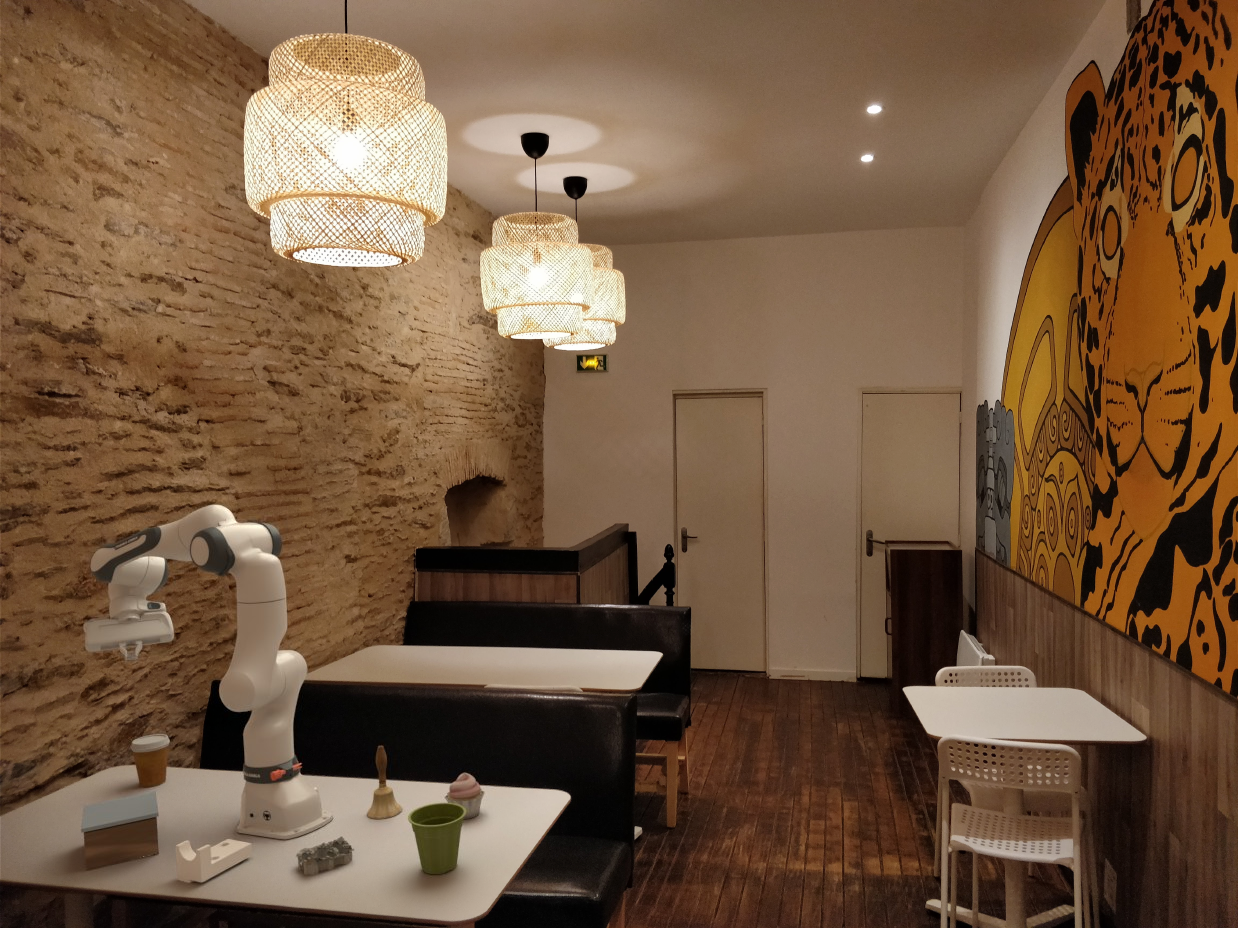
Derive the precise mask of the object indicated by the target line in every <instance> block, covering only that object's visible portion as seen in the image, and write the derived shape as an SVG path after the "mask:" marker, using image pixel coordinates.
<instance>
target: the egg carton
mask: <svg viewBox="0 0 1238 928" xmlns="http://www.w3.org/2000/svg"><path fill="white" fill-rule="evenodd" d="M353 852H355V848H352V845H351V844H350V843H349V842H348V841H347V840H345V838H344V837H343V836H340V837H338V838H337V839H334V840H333V841H328V842H327V843H326V842H322V843H321V844H319V845H315V846H313V847H306V848H301V849H300V851H298V852H297V853H296V855H295V857H297V867H298V870H300V871H302V870H303V874H304V876H308V875H309V876H310V875H312V876H315V875H318V874H319V872H320V871H323V870H328V871H331V870H333V869H334V868H335V867H336V866H338V865H347V864H350V862H351V861H352V860H353Z"/></svg>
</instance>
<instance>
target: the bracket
mask: <svg viewBox="0 0 1238 928" xmlns="http://www.w3.org/2000/svg"><path fill="white" fill-rule="evenodd" d="M252 846H253V845H252V843H251V842H245V841H241V840H236V839H230V838H227V839H225V840H223V841H221V842H219V843H217V844H215V845H213V846H211V844H205V845H203V846H201V847H200V848H197V849H196V852H195V851H194V849H192V847H191V841H190V840H186V839H185V840H184V841H182V842H180V843H178V844H176V845H175V857H176V870H177V871H176V872H177V881H179V880H180V881H179V882H183V881H184V883H189V884H191V883H192V882H197V883H203V882H206V881H208V880H209V879H211V878H213V877H215V876H217V875H218V874H220V873H222V872H224V871H226V870H228V869H230V868H232V867H233V866H235V865H237V864H239V863H240V862H241V863H242V861H245V860H246V859H248V858H250V857H252V856H253V847H252Z"/></svg>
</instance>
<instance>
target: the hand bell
mask: <svg viewBox="0 0 1238 928" xmlns="http://www.w3.org/2000/svg"><path fill="white" fill-rule="evenodd" d="M387 758H388V757H387V754H386V750H385V748H384V745H378V746H377V750H376V754H375V764H376V765H375V766H376V769H377V771H378V788H376V789H374V790H373V795H372V796H373V797H372V798H373V799H372V803H371V806H370V808H369V809H368V811H367V812H366V816H367V817H368V818H369V819H373V820H384V819H388V818H392V817H395V816H397V815H399V814H400V813H401V812H402V811H403V808H402V805H400V804H399V803H398V802H397V800H396V799H395V795H394V789H393V788H392V787H390V786H387V776H386V775H387V774H386V771H387V765H388V760H387Z"/></svg>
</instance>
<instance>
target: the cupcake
mask: <svg viewBox="0 0 1238 928" xmlns="http://www.w3.org/2000/svg"><path fill="white" fill-rule="evenodd" d="M448 789H449V792H446V795H445V796H444V799H445V801H446V803H455V804H459V805H461V806H463V807H464V808H465V809H466V815H465V816H464V817H463V820H467V819H471V818H474V817H477V816H478V815H479V813H480V810H481V805H482V799H483V798H484V795H485V793H486V792H485V791H484V790H483V789H482V788H481V785H480V784H479V782H478V781H476V778H475V777H474V776H473V775H471V774H470V773H467V772H463V773H461V774H460V775H458V777H457V778H456V780H455V781H453V782H452V783H451V784H450V785H449V788H448Z"/></svg>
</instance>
